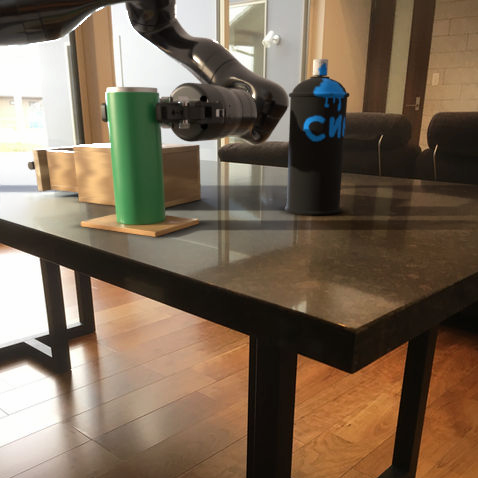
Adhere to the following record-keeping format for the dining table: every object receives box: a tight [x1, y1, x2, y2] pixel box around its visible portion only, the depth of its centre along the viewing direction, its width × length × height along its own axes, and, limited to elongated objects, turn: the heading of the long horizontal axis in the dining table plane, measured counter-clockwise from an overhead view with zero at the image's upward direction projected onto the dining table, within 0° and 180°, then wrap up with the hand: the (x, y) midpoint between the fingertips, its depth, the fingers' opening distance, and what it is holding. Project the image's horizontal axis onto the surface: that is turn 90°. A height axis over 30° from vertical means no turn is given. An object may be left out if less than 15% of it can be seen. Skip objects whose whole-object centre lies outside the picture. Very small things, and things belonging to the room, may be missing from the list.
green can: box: [105, 86, 166, 225], centre depth 64 cm, size 6×6×16 cm
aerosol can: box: [284, 58, 350, 216], centre depth 73 cm, size 8×8×20 cm
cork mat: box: [80, 213, 200, 238], centre depth 66 cm, size 12×9×1 cm
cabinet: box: [72, 142, 202, 209], centre depth 83 cm, size 16×12×9 cm
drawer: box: [27, 145, 78, 193], centre depth 89 cm, size 19×11×7 cm, turn 60°
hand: (130, 112), depth 61 cm, fingers open, 8 cm apart
